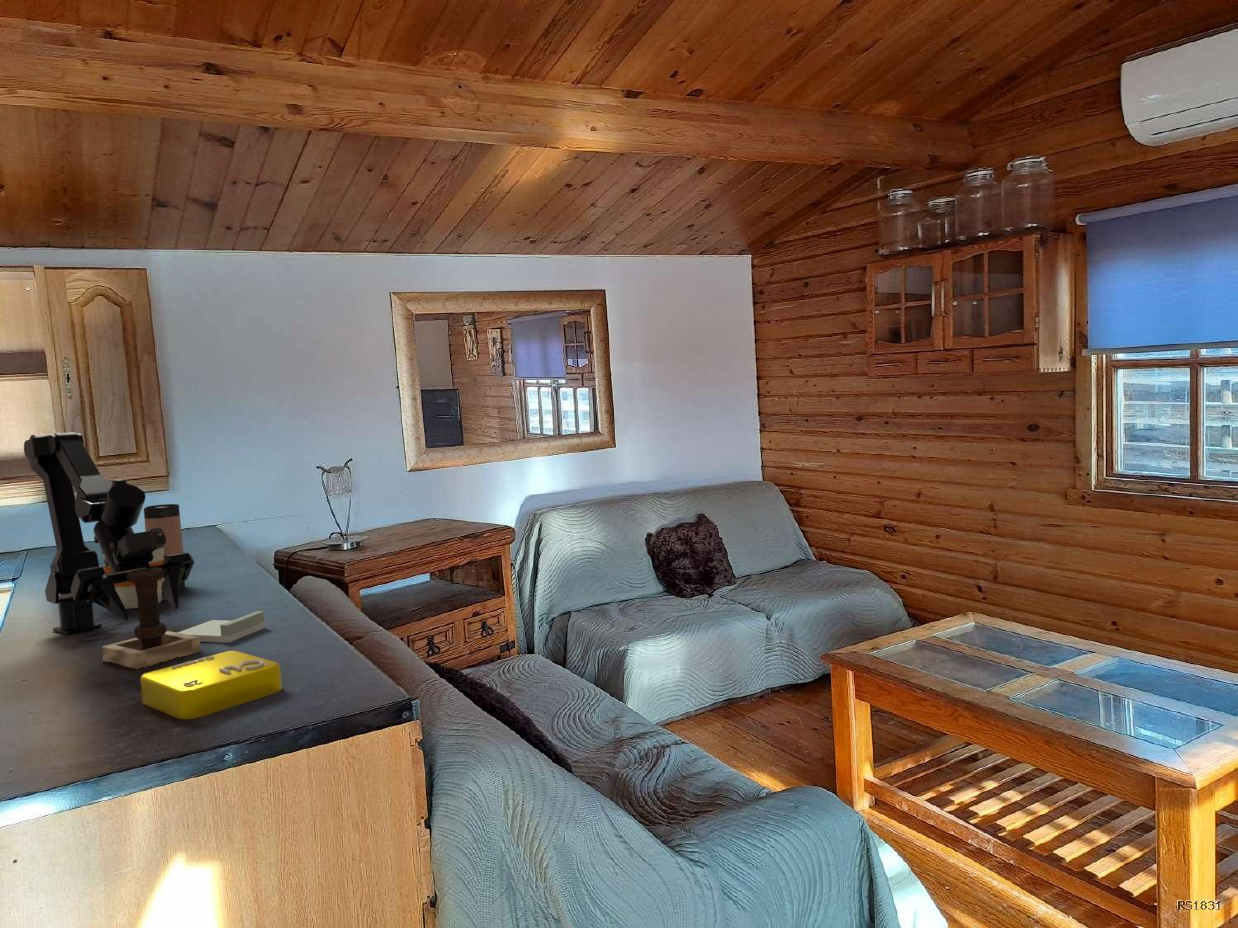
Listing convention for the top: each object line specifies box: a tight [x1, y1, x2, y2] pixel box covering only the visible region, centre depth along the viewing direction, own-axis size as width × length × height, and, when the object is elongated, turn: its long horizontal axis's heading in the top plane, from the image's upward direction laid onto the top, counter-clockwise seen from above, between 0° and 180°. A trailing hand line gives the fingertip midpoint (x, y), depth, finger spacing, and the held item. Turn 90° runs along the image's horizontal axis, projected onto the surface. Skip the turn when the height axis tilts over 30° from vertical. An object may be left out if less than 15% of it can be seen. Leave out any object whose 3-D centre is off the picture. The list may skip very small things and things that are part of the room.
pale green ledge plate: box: [177, 610, 266, 644], centre depth 163 cm, size 12×10×3 cm
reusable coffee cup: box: [100, 544, 166, 610], centre depth 193 cm, size 12×13×15 cm
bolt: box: [126, 568, 168, 650], centre depth 150 cm, size 6×5×15 cm
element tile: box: [140, 650, 283, 720], centre depth 128 cm, size 15×15×5 cm
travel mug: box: [143, 503, 186, 593], centre depth 208 cm, size 8×8×20 cm
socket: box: [101, 630, 202, 670], centre depth 151 cm, size 11×11×2 cm
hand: (152, 613), depth 149 cm, fingers open, 8 cm apart
